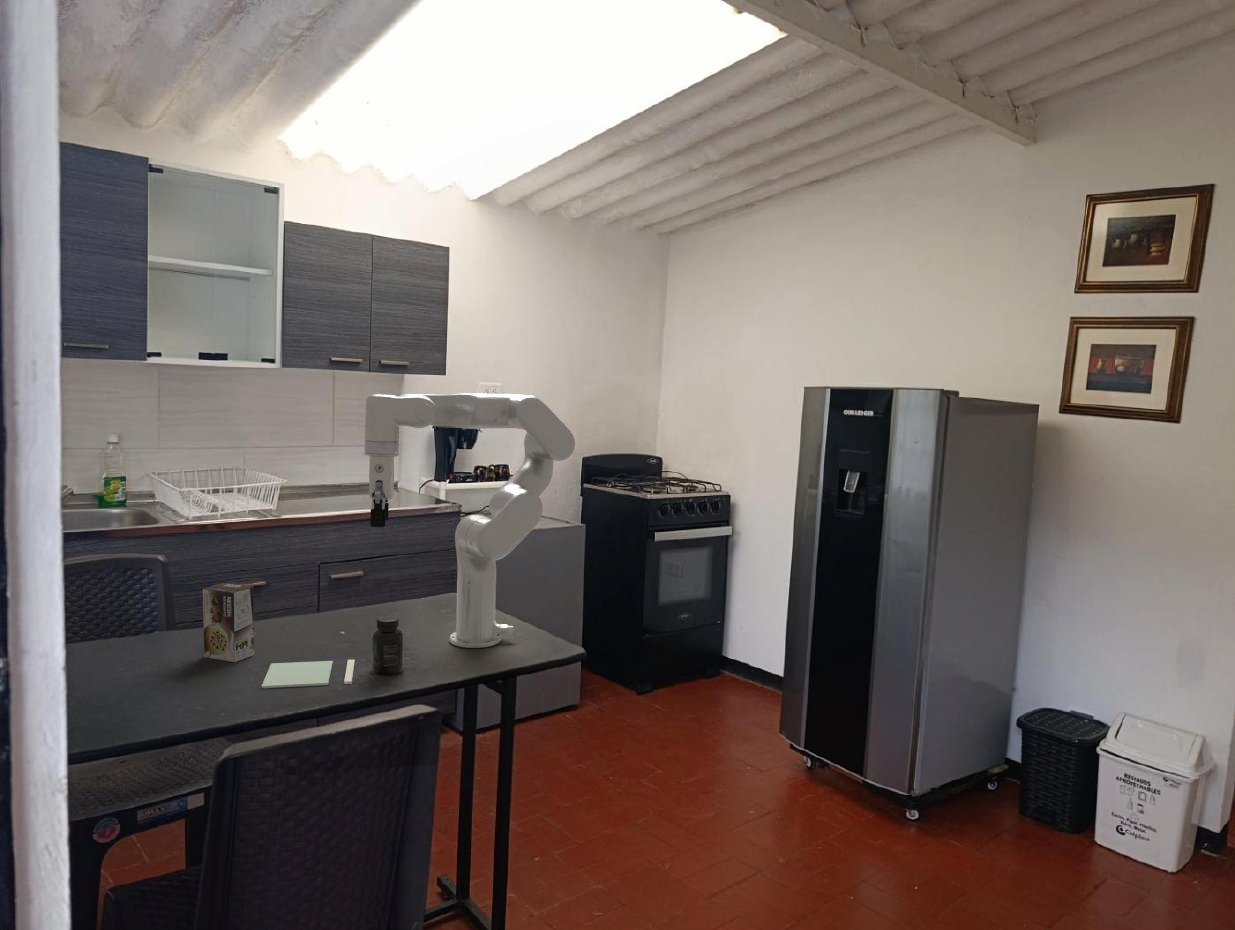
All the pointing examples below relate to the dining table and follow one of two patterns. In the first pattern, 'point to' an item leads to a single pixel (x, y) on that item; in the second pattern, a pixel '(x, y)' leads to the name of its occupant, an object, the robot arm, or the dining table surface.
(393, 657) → the supplement bottle
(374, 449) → the robot arm
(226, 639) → the coffee box
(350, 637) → the dining table surface
